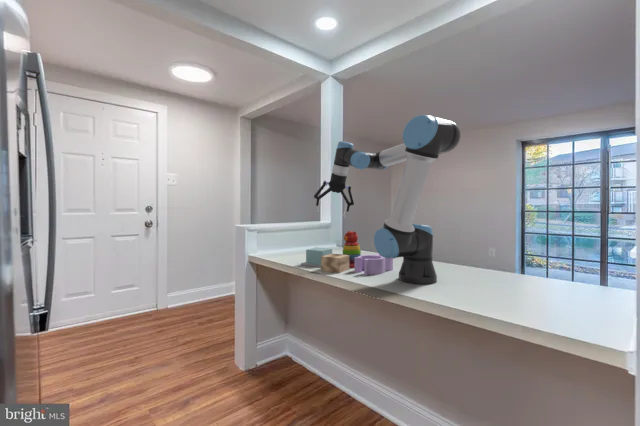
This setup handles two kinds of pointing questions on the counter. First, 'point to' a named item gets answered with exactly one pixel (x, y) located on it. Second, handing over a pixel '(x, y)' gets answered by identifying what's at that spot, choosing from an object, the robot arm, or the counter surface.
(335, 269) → the oak brick
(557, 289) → the counter surface
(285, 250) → the counter surface
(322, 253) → the tower base
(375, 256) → the clip
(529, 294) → the counter surface
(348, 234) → the stacking bear
